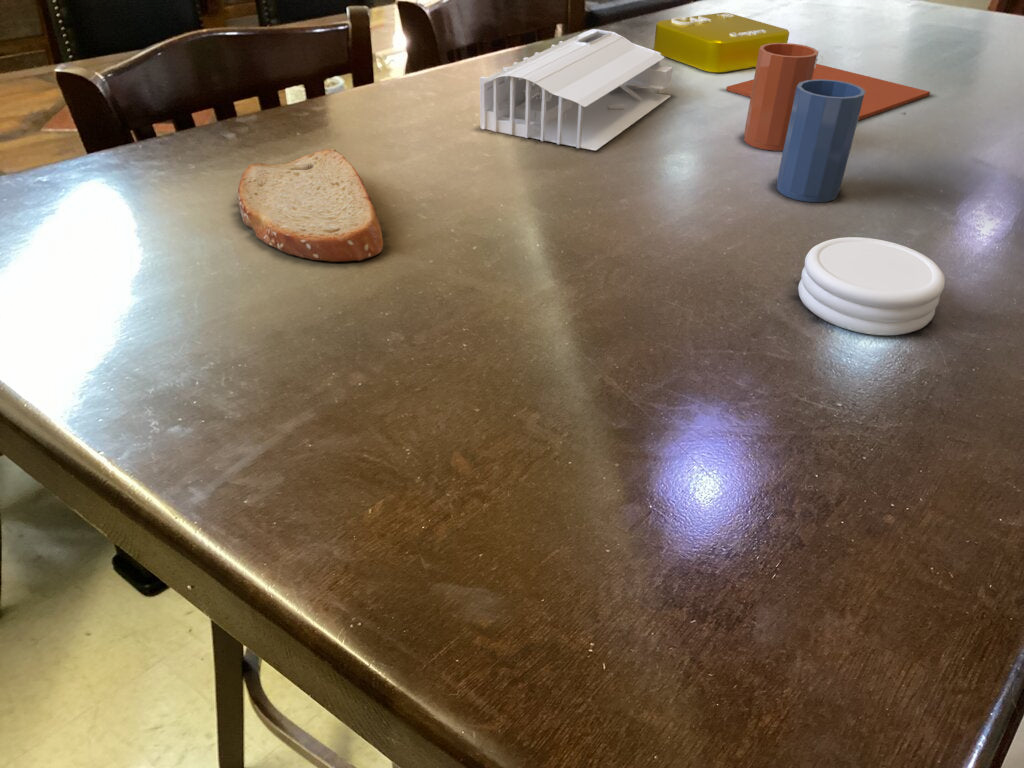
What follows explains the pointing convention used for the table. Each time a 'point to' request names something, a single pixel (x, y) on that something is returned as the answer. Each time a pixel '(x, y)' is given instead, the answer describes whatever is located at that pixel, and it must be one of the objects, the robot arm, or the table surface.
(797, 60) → the terracotta cup
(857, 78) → the terracotta mat
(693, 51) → the element tile
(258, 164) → the bread slice
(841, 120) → the blue cup
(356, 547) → the table surface
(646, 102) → the model shed
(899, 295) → the coaster
